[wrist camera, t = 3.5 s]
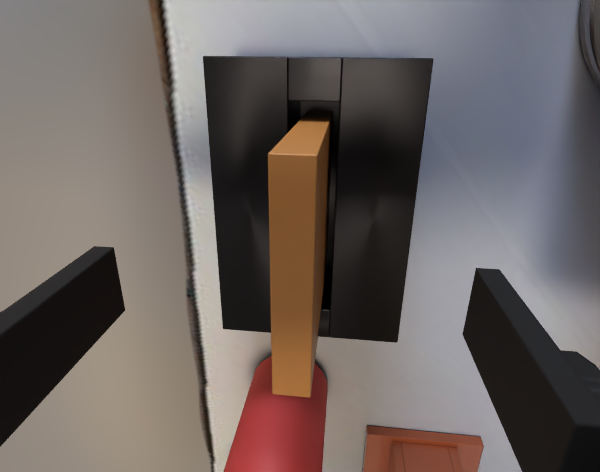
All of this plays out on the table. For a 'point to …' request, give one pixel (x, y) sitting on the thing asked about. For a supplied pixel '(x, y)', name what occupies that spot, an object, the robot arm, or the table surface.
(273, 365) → the toast
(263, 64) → the toaster
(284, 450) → the beer can
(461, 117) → the table surface
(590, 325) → the table surface
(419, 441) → the toast rack
